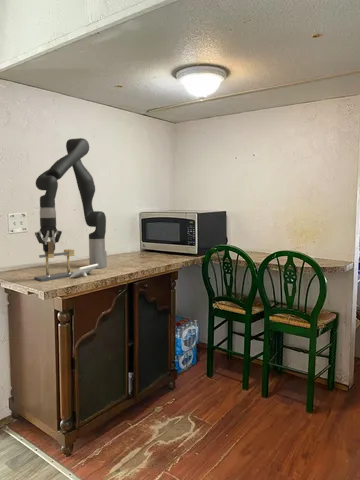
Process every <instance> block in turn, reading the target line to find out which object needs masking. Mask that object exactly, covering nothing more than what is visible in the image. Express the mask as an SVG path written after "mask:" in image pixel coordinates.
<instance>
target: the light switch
mask: <svg viewBox="0 0 360 480" xmlns="http://www.w3.org/2000/svg"><path fill="white" fill-rule="evenodd" d="M97 266H98V264H93V265H89V264H88V265H86V266H81V267H78V269H76V270H75V271H73V272H74V273H73V274H72V275H71V276H70V277H69V278H70V279H72V278H76V277H81V276H83V277H84V278H86V277H87V276H88V275H89V274H91V273H92V272H93V271H94V270H95V269H97V268H96V267H97Z"/></svg>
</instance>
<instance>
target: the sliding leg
mask: <svg viewBox="0 0 360 480" xmlns="http://www.w3.org/2000/svg"><path fill="white" fill-rule="evenodd" d="M47 249H48V252H44V255H45V254H47V255H48V257H44V258H45V272H46V273H45V275H50V271H49V268H50V267H49V259H52V258H55V256H54V253H55V250H54V242H51V241H50V240H49V241H48V240H47Z"/></svg>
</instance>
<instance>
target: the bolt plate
mask: <svg viewBox="0 0 360 480" xmlns="http://www.w3.org/2000/svg"><path fill="white" fill-rule="evenodd" d="M74 272H75V271H70V273H67V271H64V272H57V273H51V274H50V273H49V275H46V274H45V275H38V276H34V278H33V279H34V280H35V281H39V282H47V281H54V280H55V281H56V280H60V279H66V278H70V276H71V275H72V274H73V273H74Z"/></svg>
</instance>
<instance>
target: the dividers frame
mask: <svg viewBox="0 0 360 480" xmlns="http://www.w3.org/2000/svg"><path fill="white" fill-rule="evenodd" d="M57 256H58V257H59V256H65V257H66V268H67V269H66V270H67V271H66V272H67V273H70V272H71V271H70V270H71V269H70V265H71V264H70V257H73V256H75V249H70V248H69V249H67V248H66V249H63V251H62V252H54V257H57ZM45 257H48V255H47V254H45V253H44V254H39V255H38V258H41V259H42V258H43V259H44V258H45Z"/></svg>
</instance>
